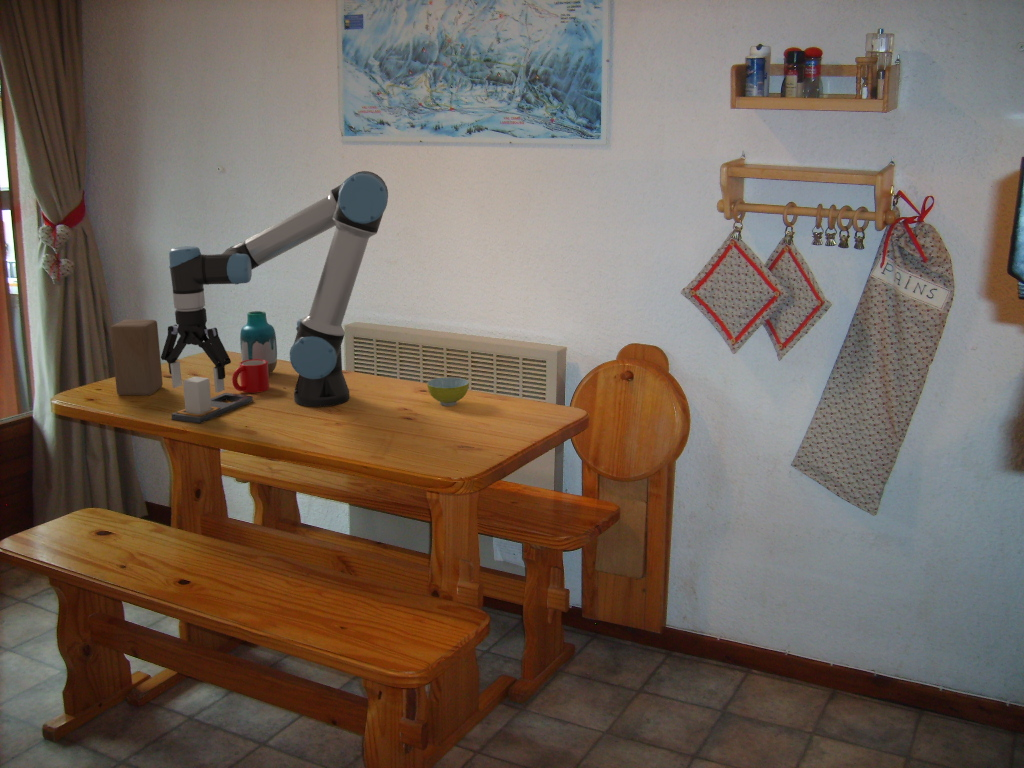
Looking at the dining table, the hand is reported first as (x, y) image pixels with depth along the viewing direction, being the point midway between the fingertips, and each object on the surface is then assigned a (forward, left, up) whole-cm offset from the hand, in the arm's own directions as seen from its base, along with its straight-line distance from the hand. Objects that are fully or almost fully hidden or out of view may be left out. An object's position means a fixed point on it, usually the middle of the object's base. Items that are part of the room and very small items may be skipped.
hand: (198, 389), depth 252 cm
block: (+31, -13, -8) cm, 35 cm away
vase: (+11, -42, -8) cm, 44 cm away
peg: (0, 0, -7) cm, 7 cm away
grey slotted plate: (0, -6, -7) cm, 9 cm away
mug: (+3, -26, -8) cm, 27 cm away
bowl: (-55, -36, -8) cm, 66 cm away
